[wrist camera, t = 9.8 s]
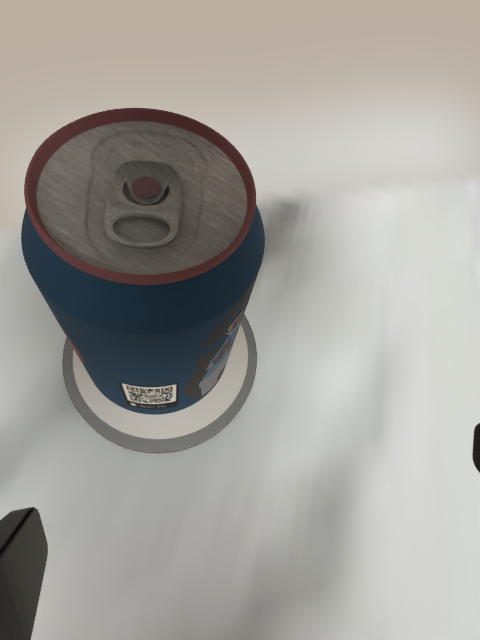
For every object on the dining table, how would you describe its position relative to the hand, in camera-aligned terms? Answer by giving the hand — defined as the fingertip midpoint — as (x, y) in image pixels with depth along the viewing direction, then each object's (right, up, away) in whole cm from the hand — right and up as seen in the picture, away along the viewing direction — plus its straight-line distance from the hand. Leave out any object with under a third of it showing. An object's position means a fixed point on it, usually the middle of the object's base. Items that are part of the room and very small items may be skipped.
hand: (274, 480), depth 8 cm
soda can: (-5, +1, +13) cm, 14 cm away
